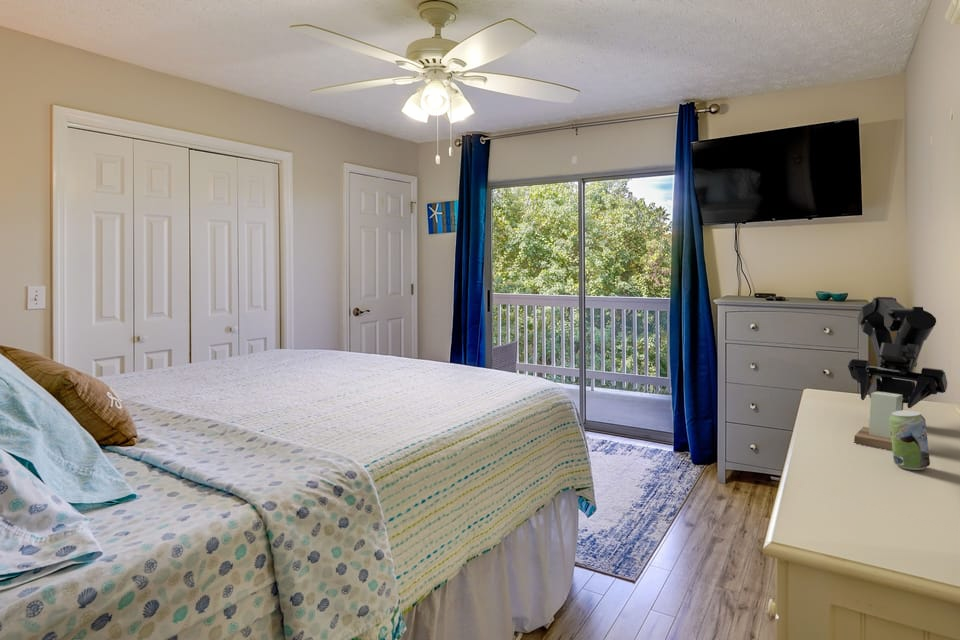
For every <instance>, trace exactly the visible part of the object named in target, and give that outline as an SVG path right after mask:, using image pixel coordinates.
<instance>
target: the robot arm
mask: <svg viewBox="0 0 960 640" xmlns="http://www.w3.org/2000/svg"><path fill="white" fill-rule="evenodd" d="M857 319H858V320H857V321H858V325H860V328H861V330H862V332H863V333H864V334H865V335H867V336H869V337H870V339H871V342H872V347H873V352H874V356H875V359H876V363H877V366H872V365H871V361H870V360H867V359H858V358H852V359H851V360H849V362H848V364H847V367H848V368H847V369H848V371H849V374H850V377H851V378H852V379H853V380H855V381H856V382H857V383H858V384H859V388H860V398H861V401H864V400H865V399H866V398H867V396H869V398H870V399H871V393H874V392H877V391H880V392H887V393H894V394H900V395H903V397H902V410H904V405H905V404H907V405H906V406H907V408H908V409H911V408H913V407H914V406H916V405H917V404H918V403H919V402H920V401H922V400H924V399H925V398H927V397H929V396H931V395H937V394H938V393H940V394H944V393H945V392H947V388H948V380H947V375H946V372H945V371H944V369H940V368H938V369H937V368H931V367H922V369H921V371H920V372H914V370H915V368H916V367H917V365H918V358H919V356H920V353H921V350H922V347H923V344H924V342H925V341H927V339H928V337H929V336H930V334H931V332H932V331H933V329H934V327H935V325H936V324H937V318H936V317H935V316H934V315H933V314H932V313H931V312H929V311H926V310H924V306H912V308H906V307H905V306H903V305H902V304H901V303H900V302H898V301H897V298H895V297H891V296H889V297H888V296H876V297H873V299H872V301H871V302H869V303H867V304H865V305H864V306H862V307H861V310H860V311H859V313H858V318H857ZM892 332H897V333H896V334H895V336H894V338H892V334H891V333H892ZM874 376H875V377H874ZM873 377H874V378H873ZM872 380H873V381H872ZM868 393H869V395H868Z"/></svg>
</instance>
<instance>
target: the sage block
mask: <svg viewBox="0 0 960 640" xmlns="http://www.w3.org/2000/svg"><path fill="white" fill-rule="evenodd" d="M902 397H903V395H900V394H894V393H887V392H880V391H877V392H874V393H871V398H870V407H869V409H870V410H869V424H868V425H869V426H868V428H869V435H874V436H879V437H884V438H889V439H891V432H890V424H889V418H890V416H891V415H892V412H893V411H897V410H902Z"/></svg>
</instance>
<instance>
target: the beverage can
mask: <svg viewBox="0 0 960 640" xmlns="http://www.w3.org/2000/svg"><path fill="white" fill-rule="evenodd" d="M889 424H890V432H891V441H892V450H893V451H892V457H893V463H894V464H895V465H896V466H899V468H901V469H904V470H911V471H913V470H914V471H919V470H924V469H926V468H927V467H929V466H930V465H931V460H930V451H929V443H928V433H927V432H928V431H927V424H926V419H925V417H924V416H923V415H922V413H921V411H918V410H913V409H903V410H897V411H893V412H892V415H891V416H890V418H889Z"/></svg>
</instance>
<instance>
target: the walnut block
mask: <svg viewBox="0 0 960 640" xmlns="http://www.w3.org/2000/svg"><path fill="white" fill-rule="evenodd" d="M853 440H854V442H853V444H854V443H856V444H855V445H858V444H861V445H860V446H864V445H865V446H864V447H869V446H870V448H876V449H879V448H881V449H880V450H884V449H886V451H889V450H891V451H890V452H893V450H892V441H891V439H889V438H884V437H879V436H874V435H869V426H868V427H867V426H862V428H860V429H859V430H858V431H857V433H856V434H855V435H854V439H853Z"/></svg>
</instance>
